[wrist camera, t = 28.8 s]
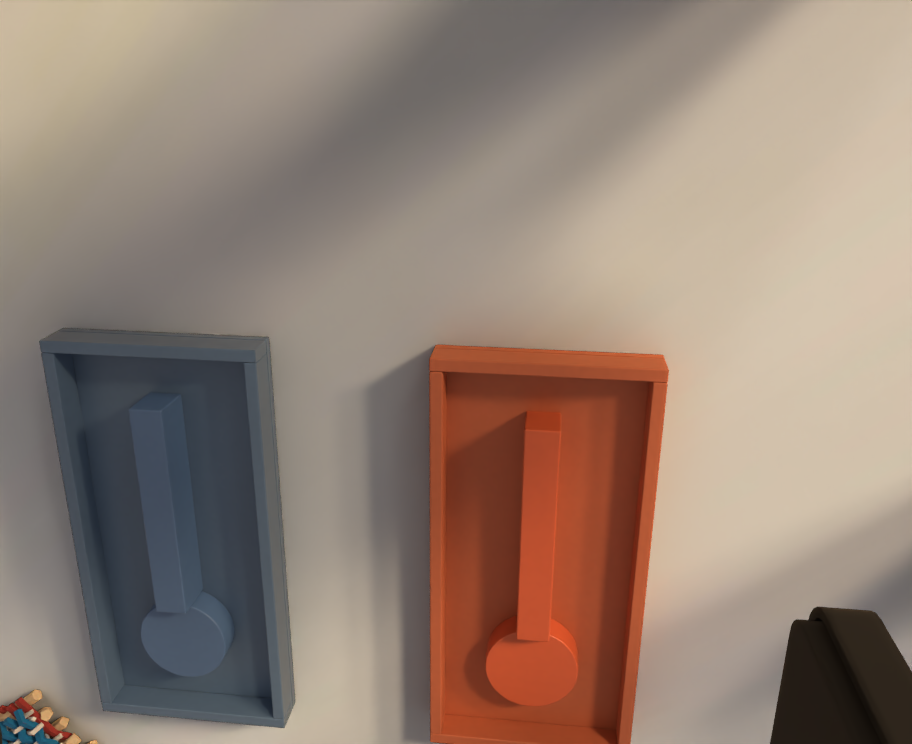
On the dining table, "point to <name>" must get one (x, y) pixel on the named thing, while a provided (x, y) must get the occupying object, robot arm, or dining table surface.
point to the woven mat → (33, 724)
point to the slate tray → (215, 505)
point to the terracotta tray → (576, 542)
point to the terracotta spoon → (535, 584)
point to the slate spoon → (174, 546)
